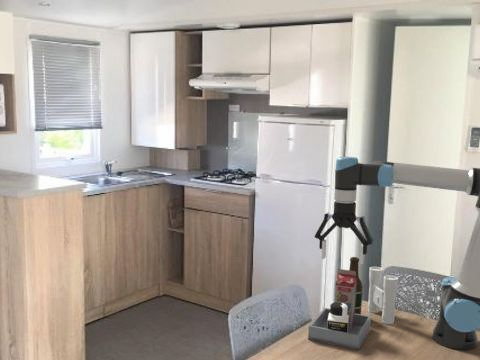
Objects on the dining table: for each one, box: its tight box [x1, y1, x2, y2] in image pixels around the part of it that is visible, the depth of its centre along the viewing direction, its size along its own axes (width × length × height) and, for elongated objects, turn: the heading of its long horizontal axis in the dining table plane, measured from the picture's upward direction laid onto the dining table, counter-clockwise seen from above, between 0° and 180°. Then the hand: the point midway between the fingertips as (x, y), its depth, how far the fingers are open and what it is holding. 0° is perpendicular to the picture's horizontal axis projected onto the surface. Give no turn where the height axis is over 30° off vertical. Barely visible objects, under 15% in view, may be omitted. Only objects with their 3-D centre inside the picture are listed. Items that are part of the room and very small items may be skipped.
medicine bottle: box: [327, 301, 349, 333], centre depth 196 cm, size 7×7×12 cm
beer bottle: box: [349, 256, 364, 315], centre depth 217 cm, size 8×8×24 cm
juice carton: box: [334, 268, 357, 332], centre depth 203 cm, size 7×7×22 cm
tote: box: [307, 307, 372, 351], centre depth 200 cm, size 18×20×5 cm
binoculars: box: [367, 266, 399, 325], centre depth 218 cm, size 17×5×18 cm, turn 14°
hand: (342, 260), depth 192 cm, fingers open, 13 cm apart
